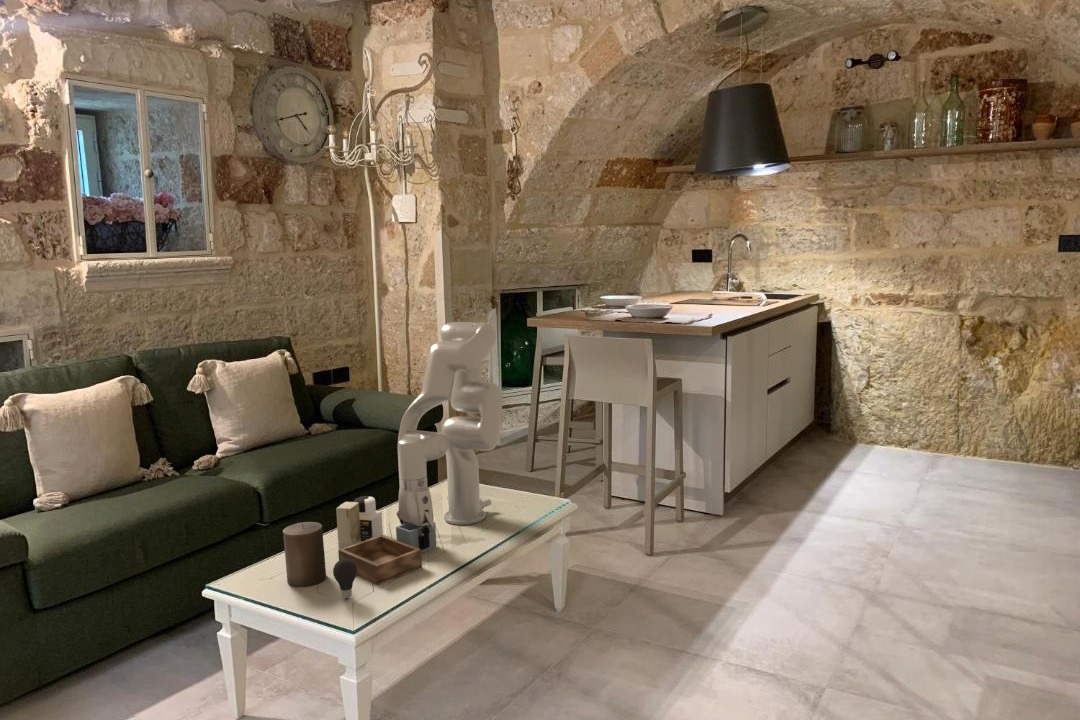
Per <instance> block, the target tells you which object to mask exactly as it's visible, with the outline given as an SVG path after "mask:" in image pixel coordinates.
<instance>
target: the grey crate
mask: <svg viewBox="0 0 1080 720" xmlns="http://www.w3.org/2000/svg"><path fill="white" fill-rule="evenodd" d="M433 522H434V523H435V524H436V522H435V521H433ZM423 523H424V521H423ZM422 528H423V530H424V529H425V526H422ZM436 531H437V528H436V525H435V526H434V528H433V529H432V530H431V532H430V534H429V544H430V546H429V547H428V548H426V549H423V550H421V553H424V552H426V551H425V550H427V551H429V550H432V549H434V548H436V546H437V532H436ZM395 534H396V535H395V536H396V540H397V541H400V542H403V543H405V544H408V545H410V546H413V547H416V548H418V549H419V536H420V533H419V529H418V526H417V525H414V524H411V523H407V524H403V525H401V524H400V525H397V526H395ZM433 547H434V548H433ZM431 548H432V549H431ZM428 549H429V550H428ZM423 551H424V552H423Z"/></svg>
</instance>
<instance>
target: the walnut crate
mask: <svg viewBox="0 0 1080 720" xmlns="http://www.w3.org/2000/svg"><path fill="white" fill-rule="evenodd" d="M337 552H338V561H339V560H341V559H350V560H352V561H353V562H354V563H355V564H356V567H357V574H356V577H359V578H361V579H364V580H366V581H367V582H370V583H372V584H374V585H377V586H380V585H383V584H384V583H385V584H386V583H387V582H390V581H393V580H395V579H397V578H400V577H402V576H405V575H407V574H410V573H412V572H415V571H418V570H420V569H423V556H422V552H421V549H418V548H416V547H413V546H410V545H408V544H405V543H403V542H400V541H397V539H394V538H392V537H389V536H387V535H384V534H382V535H380V536H377V537H374V538H371V539H368V540H365V541H362V542H359V543H356V544H354V545H351V546H348V547H345V548H342V549H339V548H338V550H337ZM419 568H420V569H419Z"/></svg>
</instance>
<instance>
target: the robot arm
mask: <svg viewBox="0 0 1080 720" xmlns="http://www.w3.org/2000/svg"><path fill="white" fill-rule="evenodd" d="M440 329H441V330H440V339H441V341H438V342H436V343H434V344H432V345H431V346H430V348H429V351H428V355H427V362H426V367H425V371H424V372H425V373H424V377H423V378H424V379H423V382H422V388H421V392H420V394H419V395H418V396H417V397H416V398H415V399H414V400H413V402H411V404H410V405H409V406H408V408H407V409H406V410H405V412H404V414H403V416H402V418H401V421H400V427H399V429H398V437H397V458H398V460H397V462H398V463H397V464H398V478H399V490H398V510H397V512H396V516H397V518H398V520H399V523H400V525H403V524H407V523H411V524H414V525H417V526H418V529H419V533H420V536H419V549H421V550H423V549H426V548H428V547H429V546H430V544H429V534H430V532H431V530H432V529H433V528H434V526H436V522H435V521H434V509H433V501H432V496H431V490H430V488H429V487H428V473H427V462H429V461H434V460H439V459H441V458H442V457H444V456H445V458H446V474H447V477H446V478H447V493H448V496H447V497H448V499H447V500H448V511H447V512H445V514H444V515H443V518H444V519H443V520H444V521H445V522H446V523H448V524H452V525H459V526H460V525H462V526H465V525H473V524H478V523H479V522H482V521H483V520H485V518H486V516H487V515H486V512H485V510H484V508H485V507H488V506H491V505H492V500H491V499H490V498H488V499H485V500H482V499H481V496H480V493H481V492H480V475H479V473H480V470H479V460H478V456H477V455H476V452H475V451H483V452H489V451H492V450H494V449H495V448H496V447H497V445H498V442H499V440H500V432H501V425H502V424H501V423H502V411H503V394H502V390H501V388H500V386H498V384H496V383H494V382H491V381H481V378H482V377H481V375H482V364H481V363H482V362H483V361H484V359H485V358H486V357H487V356H488V355H489V354H490V352H491V351H492V350H493V348H494V347H495V343H496V340H497V333H496V330H495V327H493V326H492V325H491V324H490V323H487V322H473V321H472V322H471V321H451V322H447V323H445V324H444V325H442V326H441V328H440ZM448 401H450V405H451V407H452V409H453V410H454V411H457V412H459V413H460V412H461V413H470V414H480V417H479V418H478V417H472V416H457V415H456V416H452V417H449V418H447V419H446V420H445V421H444V422H443V424H442V427H441V432H437V431H427V430H417V429H418V425H419V422H420V420H421V418H422V417H423V416H424V415H425V414H426V413H427V412H428V411H430V410H432V409H433V408H435V407H438V406H439V405H442V404H445V403H447V402H448ZM423 521H424V523H423ZM434 522H435V523H434ZM422 526H425V529H424V530H423V528H422Z"/></svg>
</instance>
